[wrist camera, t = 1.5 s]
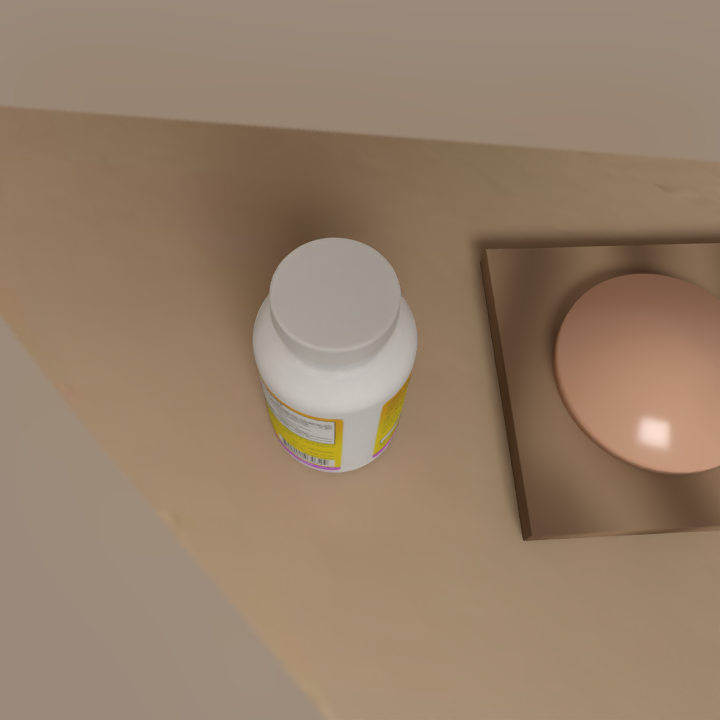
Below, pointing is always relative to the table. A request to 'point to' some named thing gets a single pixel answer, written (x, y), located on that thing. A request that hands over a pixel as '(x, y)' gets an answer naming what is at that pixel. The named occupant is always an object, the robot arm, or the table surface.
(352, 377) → the supplement bottle
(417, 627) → the table surface
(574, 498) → the square brown tray
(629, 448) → the pink dome
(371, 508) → the table surface
